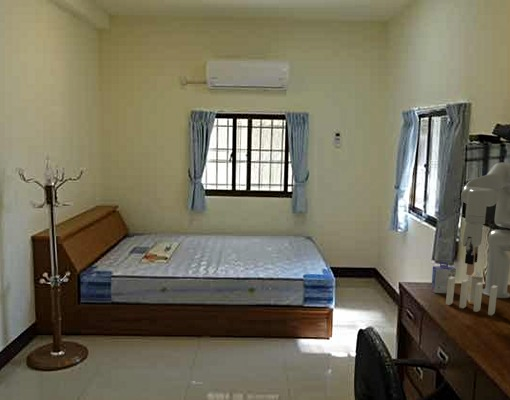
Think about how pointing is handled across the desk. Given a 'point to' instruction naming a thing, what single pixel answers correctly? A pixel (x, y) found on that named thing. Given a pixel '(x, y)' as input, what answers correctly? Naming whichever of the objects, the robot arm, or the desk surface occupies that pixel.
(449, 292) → the domino
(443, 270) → the ink cartridge box
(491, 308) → the domino
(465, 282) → the domino
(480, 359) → the desk surface
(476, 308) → the domino
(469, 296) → the supplement box
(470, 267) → the domino
